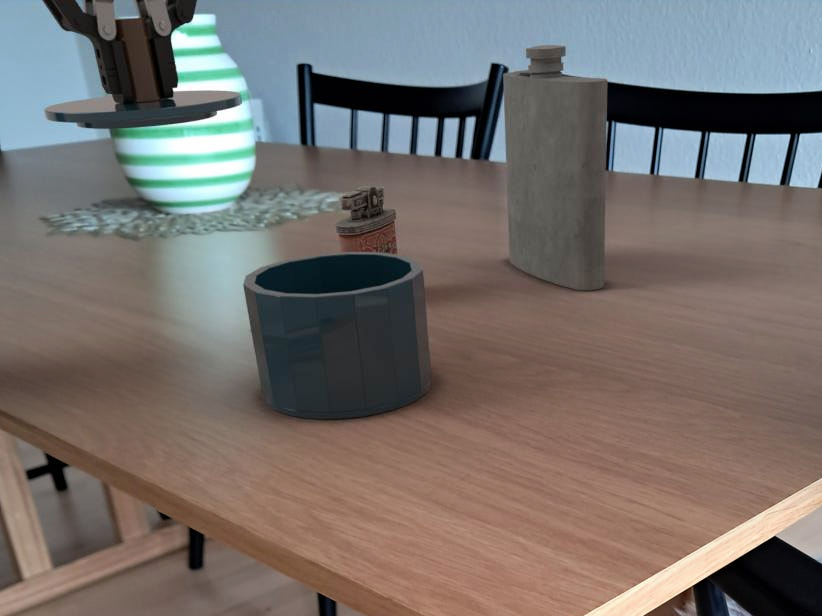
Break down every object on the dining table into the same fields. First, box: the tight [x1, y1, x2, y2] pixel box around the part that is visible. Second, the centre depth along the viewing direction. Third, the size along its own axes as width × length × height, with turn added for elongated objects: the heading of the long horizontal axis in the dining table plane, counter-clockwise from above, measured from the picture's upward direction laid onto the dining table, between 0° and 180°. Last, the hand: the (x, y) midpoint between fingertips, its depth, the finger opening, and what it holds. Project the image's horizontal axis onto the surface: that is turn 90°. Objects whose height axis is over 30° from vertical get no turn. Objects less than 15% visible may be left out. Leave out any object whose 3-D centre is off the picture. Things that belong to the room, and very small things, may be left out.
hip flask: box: [502, 44, 608, 291], centre depth 97 cm, size 16×4×20 cm, turn 26°
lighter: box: [334, 185, 399, 255], centre depth 95 cm, size 8×3×10 cm, turn 154°
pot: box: [242, 252, 432, 420], centre depth 74 cm, size 13×13×8 cm
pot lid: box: [43, 17, 243, 130], centre depth 71 cm, size 14×14×6 cm
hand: (143, 98), depth 72 cm, fingers closed on pot lid, 2 cm apart
